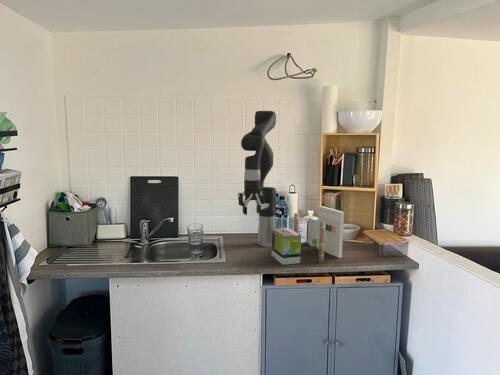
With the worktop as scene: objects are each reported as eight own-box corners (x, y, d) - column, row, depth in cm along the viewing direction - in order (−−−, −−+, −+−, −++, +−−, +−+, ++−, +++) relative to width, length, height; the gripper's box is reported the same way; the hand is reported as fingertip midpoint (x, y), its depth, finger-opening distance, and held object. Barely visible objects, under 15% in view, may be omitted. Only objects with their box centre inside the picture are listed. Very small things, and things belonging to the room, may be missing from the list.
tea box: (300, 263, 184) (301, 234, 182) (282, 265, 181) (282, 235, 178) (288, 253, 198) (289, 226, 196) (270, 255, 195) (271, 228, 193)
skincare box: (311, 246, 211) (312, 219, 209) (306, 243, 217) (307, 217, 215) (324, 245, 213) (326, 219, 211) (320, 242, 219) (321, 216, 217)
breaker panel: (315, 248, 207) (316, 206, 204) (319, 247, 209) (321, 205, 205) (337, 258, 192) (339, 212, 188) (341, 257, 193) (344, 212, 190)
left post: (292, 249, 206) (293, 213, 203) (296, 248, 207) (297, 213, 204) (294, 250, 204) (296, 214, 201) (298, 249, 205) (299, 214, 202)
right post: (317, 261, 187) (319, 222, 184) (321, 260, 188) (323, 222, 185) (320, 262, 185) (322, 223, 182) (324, 262, 186) (326, 223, 183)
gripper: (261, 177, 180) (260, 210, 183) (234, 178, 173) (234, 213, 176) (269, 178, 174) (268, 213, 176) (242, 180, 167) (241, 216, 169)
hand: (251, 213), depth 176 cm, fingers open, 6 cm apart
